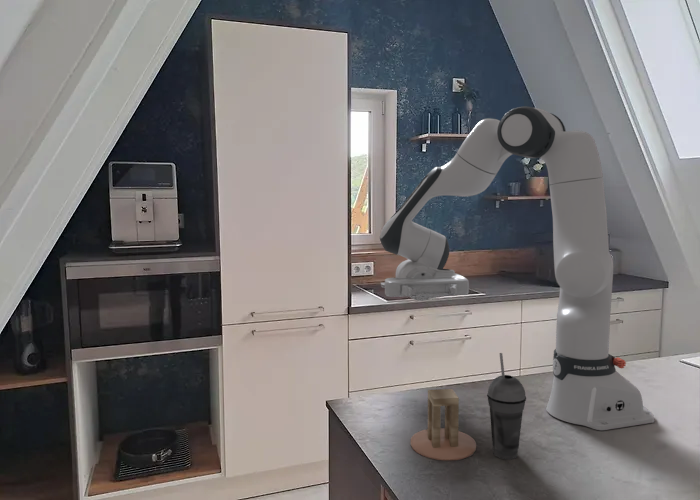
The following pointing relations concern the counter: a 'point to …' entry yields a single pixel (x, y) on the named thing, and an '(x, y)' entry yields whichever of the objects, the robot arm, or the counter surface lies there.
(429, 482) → the counter surface
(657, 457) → the counter surface
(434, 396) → the stool
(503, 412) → the beverage cup
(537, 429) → the counter surface
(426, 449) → the coaster
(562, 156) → the robot arm
